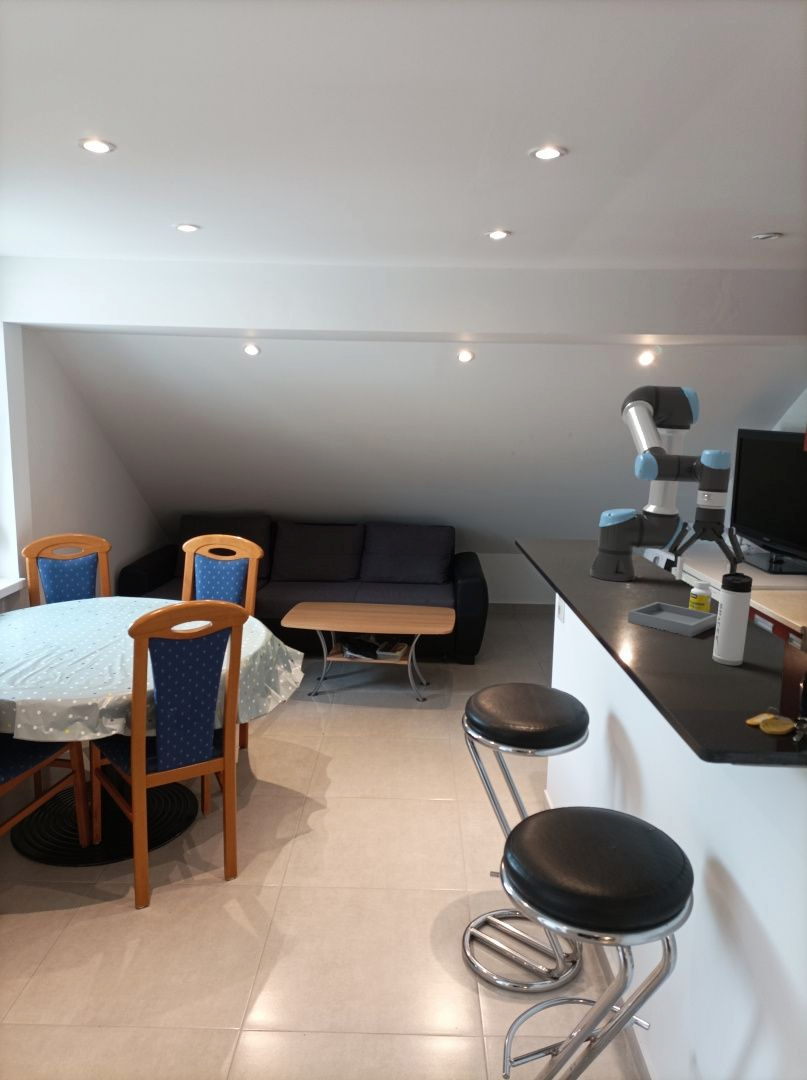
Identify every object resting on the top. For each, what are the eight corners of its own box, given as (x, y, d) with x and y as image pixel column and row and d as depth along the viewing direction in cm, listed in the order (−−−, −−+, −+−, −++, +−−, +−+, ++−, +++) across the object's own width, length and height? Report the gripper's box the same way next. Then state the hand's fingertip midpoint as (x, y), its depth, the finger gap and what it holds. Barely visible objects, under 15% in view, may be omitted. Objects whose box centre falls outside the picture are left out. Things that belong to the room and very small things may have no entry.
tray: (655, 612, 211) (656, 601, 211) (716, 625, 200) (717, 614, 199) (627, 622, 199) (628, 611, 198) (690, 637, 187) (692, 625, 187)
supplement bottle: (684, 615, 209) (688, 580, 208) (693, 612, 213) (697, 578, 212) (703, 619, 206) (707, 584, 204) (712, 616, 209) (716, 582, 208)
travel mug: (743, 660, 170) (754, 574, 167) (740, 667, 165) (751, 579, 162) (714, 654, 174) (724, 570, 170) (710, 662, 168) (720, 575, 165)
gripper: (661, 502, 210) (653, 576, 213) (754, 512, 193) (744, 593, 196) (672, 501, 215) (665, 574, 219) (763, 511, 199) (754, 589, 202)
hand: (702, 583), depth 207 cm, fingers open, 13 cm apart
